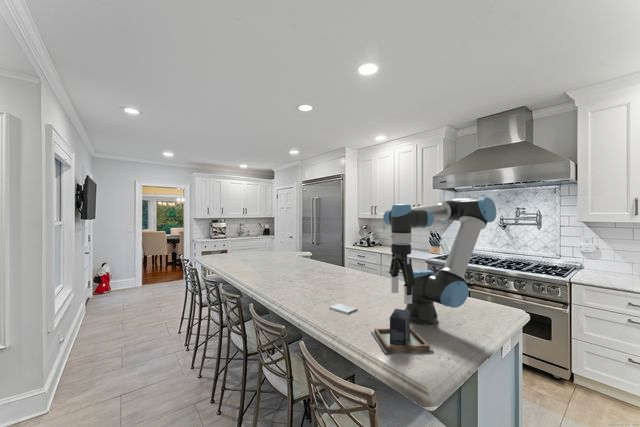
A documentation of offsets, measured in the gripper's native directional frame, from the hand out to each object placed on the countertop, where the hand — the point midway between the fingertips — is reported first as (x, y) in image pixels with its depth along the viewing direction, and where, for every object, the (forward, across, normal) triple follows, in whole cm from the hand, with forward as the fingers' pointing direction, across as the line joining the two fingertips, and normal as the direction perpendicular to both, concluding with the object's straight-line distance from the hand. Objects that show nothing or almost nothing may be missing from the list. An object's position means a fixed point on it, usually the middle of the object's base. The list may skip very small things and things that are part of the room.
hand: (401, 297), depth 109 cm
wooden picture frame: (+17, 0, 0) cm, 17 cm away
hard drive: (+18, -38, -16) cm, 45 cm away
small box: (+17, 0, 0) cm, 17 cm away
